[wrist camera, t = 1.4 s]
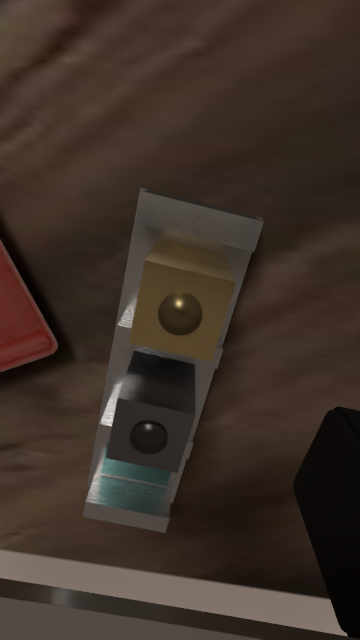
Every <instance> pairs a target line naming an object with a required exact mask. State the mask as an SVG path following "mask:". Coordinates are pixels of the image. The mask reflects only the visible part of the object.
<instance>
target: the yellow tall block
mask: <svg viewBox="0 0 360 640" xmlns="http://www.w3.org/2000/svg"><path fill="white" fill-rule="evenodd" d="M235 285H236V280H235V278H234V275H233V273H232V271H231V268H230V266H229V264H228V261H227V259H226V256H225V254H223V253H219V252H215V251H211V250H207V249H203V248H199V247H195V246H191V245H187V244H182V243H178V242H174V241H170V240H166V239H162V238H158V240H157V241H156V243H155V245H154V246H153V248H152V249H151V251H150V253H149V254H148V256H147V258H146V259H145V262H144V267H143V272H142V277H141V282H140V287H139V293H138V298H137V303H136V308H135V313H134V318H133V323H132V328H131V333H130V338H129V343H130V344H134V345H139V346H143V347H147V348H152V349H156V350H161V351H165V352H169V353H174V354H178V355H183V356H187V357H191V358H196V359H200V360H205V361H209V362H212V360H213V357H214V353H215V350H216V347H217V344H218V340H219V337H220V334H221V331H222V327H223V324H224V321H225V318H226V314H227V311H228V308H229V305H230V301H231V298H232V295H233V292H234V288H235Z"/></svg>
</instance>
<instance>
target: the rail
mask: <svg viewBox="0 0 360 640" xmlns="http://www.w3.org/2000/svg"><path fill="white" fill-rule="evenodd" d="M263 223H264V222H263V221H262V218H261V217H259V216H256V215H253V214H249V213H245V212H241V211H237V210H233V209H229V208H225V207H221V206H217V205H213V204H209V203H205V202H201V201H197V200H193V199H189V198H185V197H181V196H177V195H173V194H169V193H165V192H161V191H157V190H153V189H149V188H145V187H144V188H140V194H139V200H138V205H137V211H136V216H135V222H134V228H133V233H132V239H131V244H130V250H129V255H128V261H127V267H126V272H125V278H124V283H123V289H122V294H121V300H120V306H119V311H118V317H117V322H116V328H115V333H114V339H113V345H112V350H111V356H110V361H109V367H108V373H107V378H106V384H105V389H104V395H103V400H102V406H101V412H100V417H99V423H98V428H97V434H96V439H95V445H94V451H93V456H92V462H91V467H90V473H89V478H88V484H87V486H91V487H90V490H89V493H88V496H87V499H86V502H85V507H84V513H83V517H88V518H93V519H98V520H103V521H108V522H113V523H118V524H123V525H128V526H133V527H138V528H143V529H148V530H153V531H158V532H163V533H165V532H166V528H167V525H168V522H169V519H170V506H171V503H173V501H174V498H175V495H176V492H177V488H178V485H179V482H180V479H181V476H182V473H183V469H184V466H185V463H186V460H187V459H189V456H190V453H191V450H192V447H193V438H194V434H195V431H196V428H197V425H198V422H199V419H200V415H201V412H202V409H203V406H204V403H205V400H206V396H207V393H208V390H209V387H210V384H211V381H212V377H213V374H214V371H215V369H217V368H218V365H219V362H220V358H221V355H222V352H223V342H224V339H225V336H226V333H227V330H228V327H229V323H230V320H231V317H232V314H233V311H234V308H235V304H236V301H237V298H238V295H239V292H240V289H241V285H242V282H243V279H244V276H245V273H246V269H247V266H248V263H249V260H250V257H251V254H252V252H254V251H255V248H256V245H257V242H258V239H259V236H260V233H261V229H262V226H263ZM158 238H162V239H166V240H170V241H174V242H178V243H182V244H187V245H191V246H195V247H199V248H203V249H207V250H211V251H215V252H219V253H223V254H225V256H226V259H227V261H228V264H229V266H230V268H231V271H232V273H233V275H234V278H235V280H236V285H235V288H234V292H233V295H232V298H231V301H230V305H229V308H228V311H227V314H226V318H225V321H224V324H223V327H222V331H221V334H220V337H219V340H218V344H217V347H216V350H215V353H214V357H213V360H212V362H209V361H205V360H200V359H196V358H191V357H187V356H183V355H178V354H174V353H169V352H165V351H161V350H156V349H152V348H147V347H143V346H139V345H134V344H130V343H129V338H130V333H131V328H132V323H133V318H134V313H135V308H136V303H137V298H138V293H139V287H140V282H141V277H142V272H143V267H144V262H145V259H146V258H147V256H148V254H149V253H150V251H151V249H152V248H153V246H154V245H155V243H156V241H157V240H158ZM134 350H135V351H139V352H144V353H148V354H152V355H157V356H161V357H166V358H170V359H175V360H179V361H183V362H188V363H192V364H195V412H196V415H195V418H194V421H193V425H192V428H191V431H190V434H189V438H188V441H187V444H186V447H185V451H184V454H183V457H182V460H181V464H180V467H179V470H178V473H174V472H170V471H165V470H160V469H155V468H150V467H146V466H141V465H136V464H131V463H126V462H121V461H117V460H112V459H107V458H106V454H107V449H108V444H109V439H110V434H111V428H112V423H113V418H114V413H115V408H116V403H117V398H118V395H119V392H120V390H121V387H122V384H123V381H124V378H125V375H126V372H127V370H128V367H129V364H130V361H131V358H132V355H133V352H134Z"/></svg>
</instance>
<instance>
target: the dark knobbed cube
mask: <svg viewBox="0 0 360 640" xmlns="http://www.w3.org/2000/svg"><path fill="white" fill-rule="evenodd" d="M195 415H196V412H195V364H192V363H188V362H183V361H179V360H175V359H170V358H166V357H161V356H157V355H152V354H148V353H144V352H139V351H135V350H134V352H133V355H132V358H131V361H130V364H129V367H128V370H127V372H126V375H125V378H124V381H123V384H122V387H121V390H120V392H119V395H118V398H117V403H116V408H115V413H114V418H113V423H112V428H111V434H110V439H109V444H108V449H107V454H106V458H107V459H112V460H117V461H121V462H126V463H131V464H136V465H141V466H146V467H150V468H155V469H160V470H165V471H170V472H174V473H178V470H179V467H180V464H181V460H182V457H183V454H184V451H185V447H186V444H187V441H188V438H189V434H190V431H191V428H192V425H193V421H194V418H195Z"/></svg>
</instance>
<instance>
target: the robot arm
mask: <svg viewBox="0 0 360 640" xmlns="http://www.w3.org/2000/svg"><path fill="white" fill-rule="evenodd" d="M294 493H295V496H296V499H297V502H298V505H299V508H300V511H301V514H302V517H303V520H304V523H305V526H306V529H307V532H308V534H309V537H310V540H311V543H312V546H313V549H314V552H315V555H316V558H317V561H318V564H319V567H320V570H321V573H322V576H323V579H324V582H325V585H326V588H327V591H328V594H329V597H330V600H331V603H332V605H333V608H334V611H335V615H336V617H337V620H338V623H339V625H340V627H341V629H342V630H343V631H344V632H346V633H347V635H348V637H347V636H341V635H336V634H329V633H324V632H317V631H313V630H307V629H301V628H295V627H290V626H284V625H278V624H272V623H267V622H261V621H255V620H249V619H243V618H237V617H232V616H226V615H220V614H214V613H208V612H202V611H196V610H190V609H184V608H178V607H173V606H167V605H161V604H154V603H149V602H142V601H137V600H131V599H125V598H118V597H113V596H106V595H100V594H95V593H89V592H82V591H77V590H71V589H64V588H58V587H52V586H46V585H40V584H33V583H27V582H21V581H15V580H9V579H2V578H0V640H360V411H357V410H353V409H348V408H344V407H339V406H338V407H336V408H334V409H333V410H329V411H328V412H327V414H326V415H325V417H324V420H323V422H322V424H321V426H320V428H319V430H318V432H317V434H316V436H315V438H314V440H313V442H312V444H311V446H310V448H309V450H308V452H307V454H306V456H305V458H304V460H303V463H302V465H301V467H300V469H299V471H298V473H297V475H296V477H295V479H294Z"/></svg>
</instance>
